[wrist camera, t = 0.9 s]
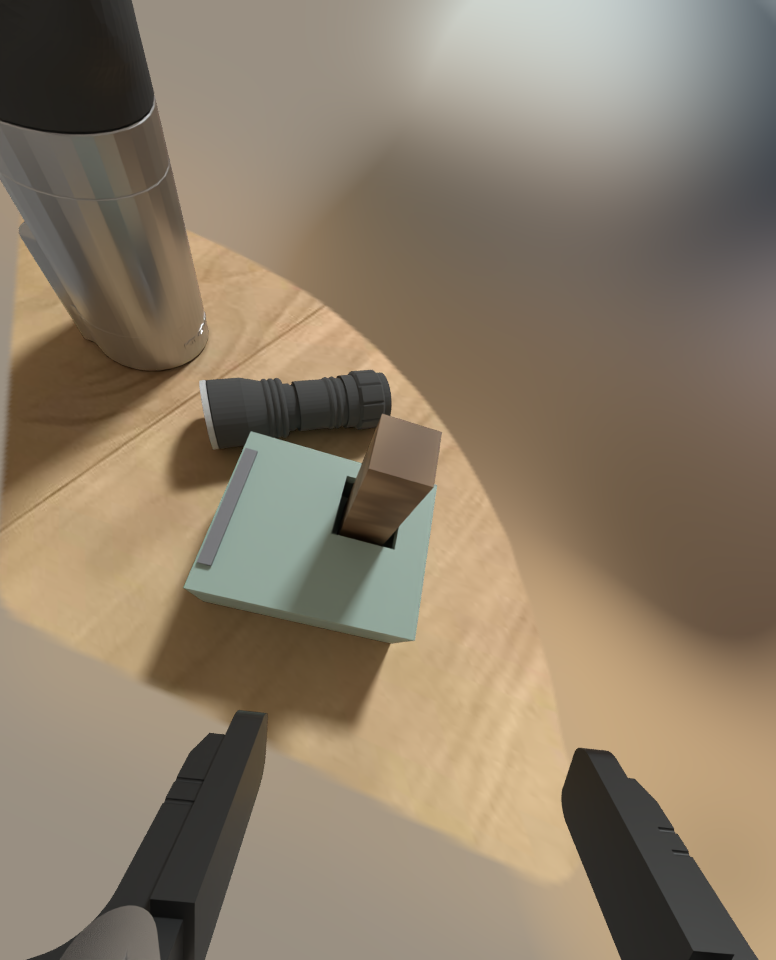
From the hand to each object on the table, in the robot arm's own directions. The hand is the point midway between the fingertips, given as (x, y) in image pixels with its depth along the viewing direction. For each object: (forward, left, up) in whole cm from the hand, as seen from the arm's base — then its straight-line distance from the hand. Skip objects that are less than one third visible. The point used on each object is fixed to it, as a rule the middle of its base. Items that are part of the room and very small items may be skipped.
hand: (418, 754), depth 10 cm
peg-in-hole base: (-4, +9, -19) cm, 22 cm away
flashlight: (-9, +21, -19) cm, 30 cm away
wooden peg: (-1, +11, -18) cm, 21 cm away
